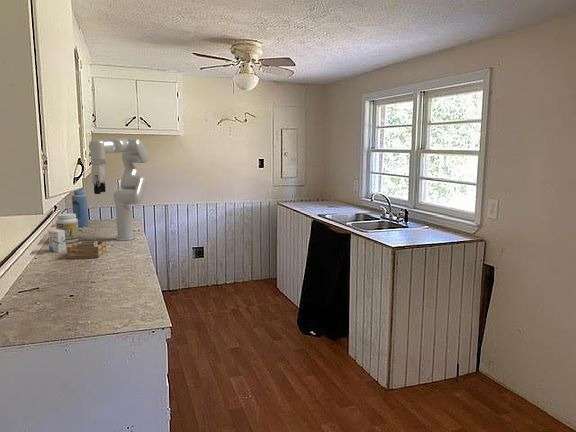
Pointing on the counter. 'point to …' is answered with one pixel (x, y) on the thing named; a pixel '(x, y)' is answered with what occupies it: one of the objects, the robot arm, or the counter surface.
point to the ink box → (57, 240)
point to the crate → (74, 254)
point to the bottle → (80, 207)
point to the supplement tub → (68, 226)
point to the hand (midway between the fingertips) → (100, 193)
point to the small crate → (87, 245)
